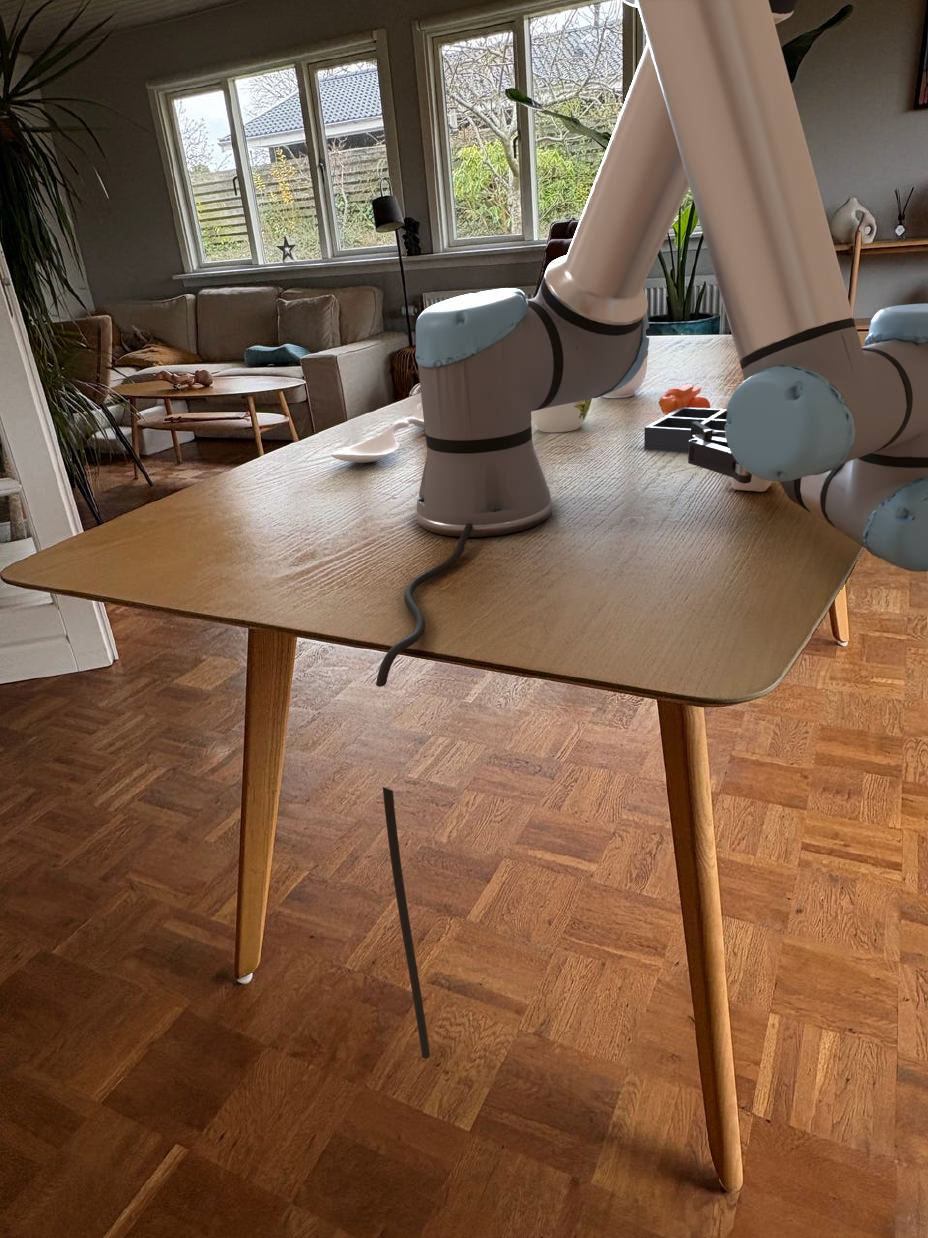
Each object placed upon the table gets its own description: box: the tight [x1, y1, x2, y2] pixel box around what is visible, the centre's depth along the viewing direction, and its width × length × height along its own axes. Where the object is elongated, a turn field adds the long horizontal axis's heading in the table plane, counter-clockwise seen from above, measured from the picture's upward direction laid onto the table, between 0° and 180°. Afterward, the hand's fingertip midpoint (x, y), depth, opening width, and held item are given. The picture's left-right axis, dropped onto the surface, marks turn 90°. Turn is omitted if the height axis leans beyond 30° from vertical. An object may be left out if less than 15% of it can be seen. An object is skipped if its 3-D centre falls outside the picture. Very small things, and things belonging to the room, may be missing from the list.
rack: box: [643, 407, 727, 454], centre depth 113 cm, size 13×13×3 cm
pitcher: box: [531, 399, 592, 433], centre depth 126 cm, size 11×18×14 cm, turn 149°
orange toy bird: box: [658, 382, 711, 416], centre depth 126 cm, size 5×8×12 cm
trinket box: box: [600, 349, 649, 399], centre depth 146 cm, size 11×11×9 cm
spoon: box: [330, 402, 425, 464], centre depth 126 cm, size 9×32×4 cm, turn 156°
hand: (741, 428), depth 94 cm, fingers open, 11 cm apart
